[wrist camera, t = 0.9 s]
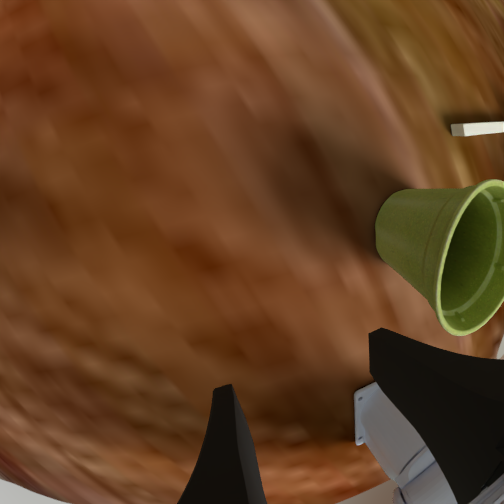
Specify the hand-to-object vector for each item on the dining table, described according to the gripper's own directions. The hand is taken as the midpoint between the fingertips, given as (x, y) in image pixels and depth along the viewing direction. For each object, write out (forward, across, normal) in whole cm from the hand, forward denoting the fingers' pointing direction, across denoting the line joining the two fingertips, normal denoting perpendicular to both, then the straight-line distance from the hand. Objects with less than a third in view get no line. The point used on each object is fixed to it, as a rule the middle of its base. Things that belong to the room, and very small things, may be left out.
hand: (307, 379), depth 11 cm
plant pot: (+11, -12, 0) cm, 16 cm away
